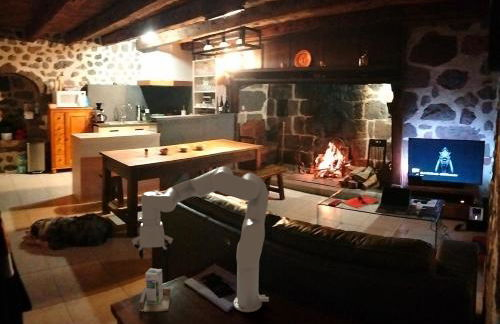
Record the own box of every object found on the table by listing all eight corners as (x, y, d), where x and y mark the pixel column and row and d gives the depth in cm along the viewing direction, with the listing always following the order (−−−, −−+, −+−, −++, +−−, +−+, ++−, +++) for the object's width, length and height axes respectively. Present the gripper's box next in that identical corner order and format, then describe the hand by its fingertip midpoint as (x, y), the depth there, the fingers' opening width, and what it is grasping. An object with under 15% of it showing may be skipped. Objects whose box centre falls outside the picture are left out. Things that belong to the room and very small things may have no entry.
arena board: (170, 295, 187) (170, 287, 186) (168, 310, 176) (167, 301, 175) (144, 296, 186) (143, 288, 185) (139, 311, 175) (139, 302, 174)
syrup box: (146, 303, 179) (144, 273, 176) (151, 296, 185) (150, 267, 181) (158, 305, 178) (157, 274, 175) (163, 297, 184) (162, 268, 181)
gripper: (129, 224, 169) (131, 262, 172) (171, 223, 170) (172, 260, 174) (132, 218, 176) (134, 254, 180) (172, 216, 178) (174, 253, 181)
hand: (153, 257), depth 177 cm, fingers open, 9 cm apart
